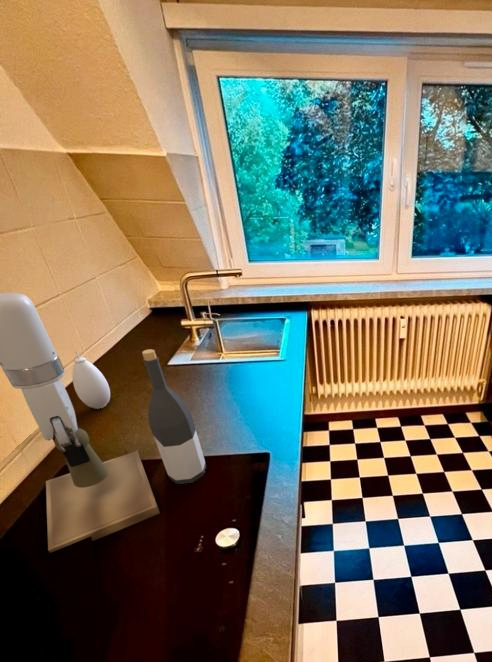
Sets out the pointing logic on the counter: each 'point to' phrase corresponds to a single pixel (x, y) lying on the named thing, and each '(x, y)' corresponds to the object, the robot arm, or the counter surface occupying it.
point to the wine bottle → (173, 427)
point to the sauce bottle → (90, 384)
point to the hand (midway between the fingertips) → (79, 454)
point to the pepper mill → (86, 464)
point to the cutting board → (98, 503)
